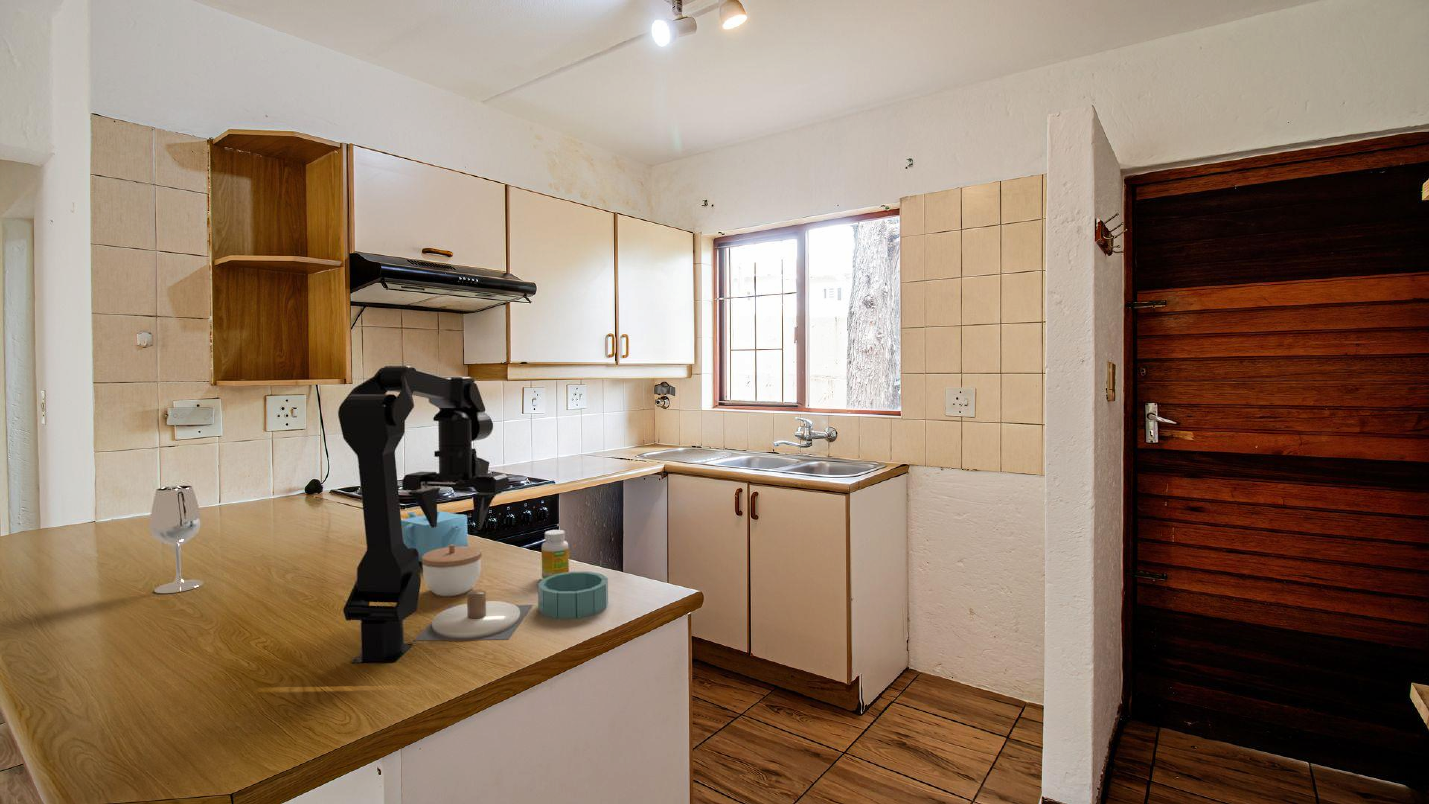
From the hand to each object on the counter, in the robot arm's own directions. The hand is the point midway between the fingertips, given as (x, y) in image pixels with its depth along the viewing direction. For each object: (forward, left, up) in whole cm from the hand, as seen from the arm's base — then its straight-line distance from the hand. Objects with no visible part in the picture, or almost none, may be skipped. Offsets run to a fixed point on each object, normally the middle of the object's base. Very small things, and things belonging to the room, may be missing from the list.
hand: (456, 528), depth 122 cm
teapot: (+27, +15, -14) cm, 34 cm away
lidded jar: (+4, +3, -14) cm, 15 cm away
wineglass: (+9, +59, -14) cm, 61 cm away
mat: (-12, -7, -14) cm, 19 cm away
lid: (-12, -7, -13) cm, 19 cm away
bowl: (-5, -22, -14) cm, 27 cm away
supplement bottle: (+12, -15, -14) cm, 24 cm away
